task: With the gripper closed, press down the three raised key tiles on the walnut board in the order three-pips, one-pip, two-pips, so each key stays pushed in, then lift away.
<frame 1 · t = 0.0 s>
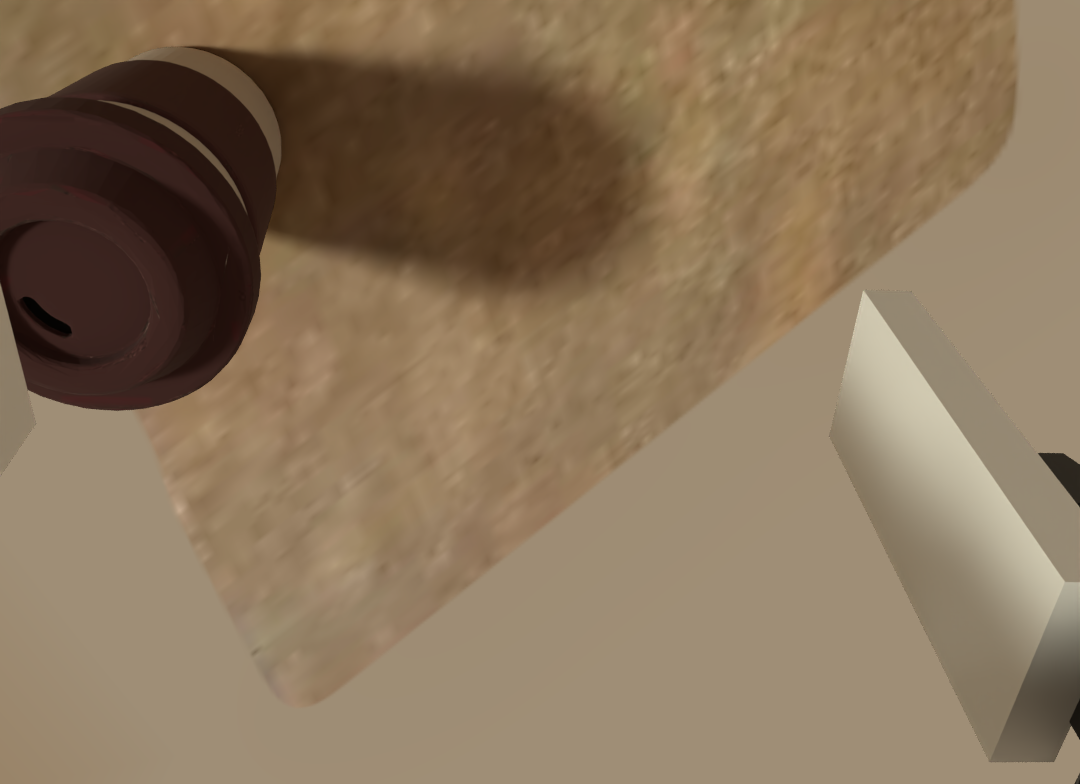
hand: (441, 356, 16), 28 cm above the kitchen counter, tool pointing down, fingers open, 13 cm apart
coffee cup: (195, 132, 42), on the kitchen counter
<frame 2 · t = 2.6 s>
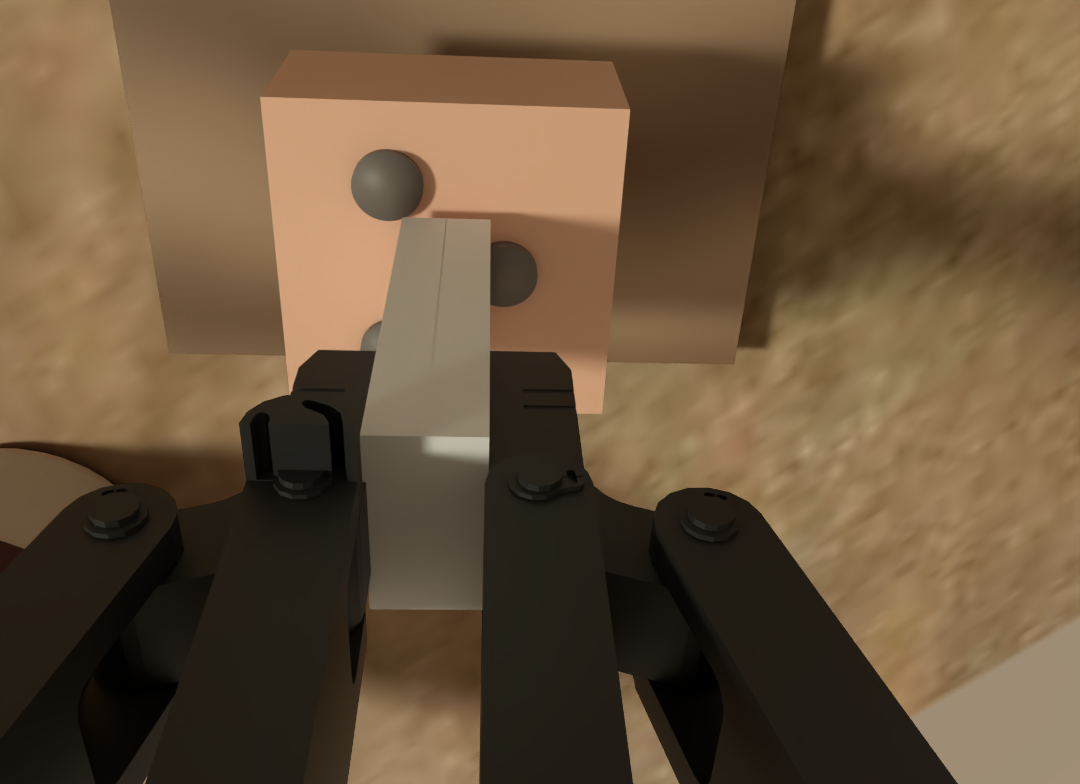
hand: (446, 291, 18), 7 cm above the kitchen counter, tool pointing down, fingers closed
tile three: (450, 238, 19), point 5 cm above the kitchen counter, slide at 0.6 cm, touching gripper
coffee cup: (39, 538, 30), on the kitchen counter
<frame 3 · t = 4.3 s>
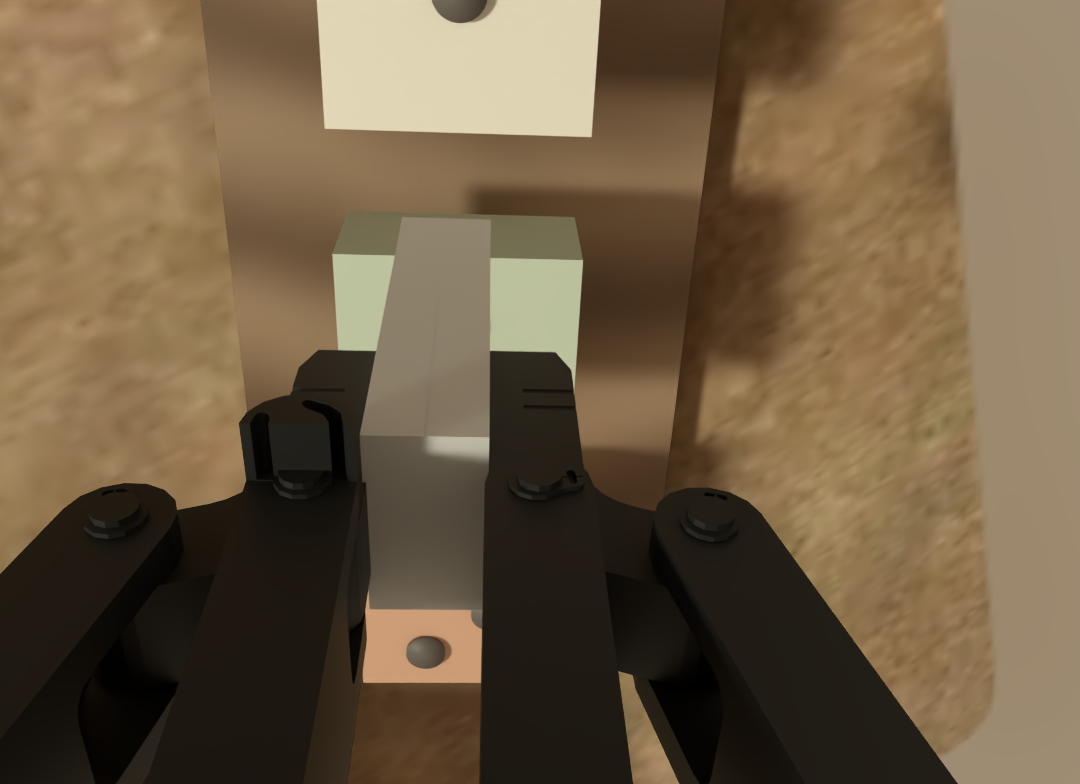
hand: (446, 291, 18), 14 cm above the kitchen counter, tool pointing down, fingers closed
tile two: (459, 342, 27), point 6 cm above the kitchen counter, slide at 0.0 cm
key board: (464, 261, 32), on the kitchen counter
tile three: (459, 581, 33), point 5 cm above the kitchen counter, slide at 1.0 cm
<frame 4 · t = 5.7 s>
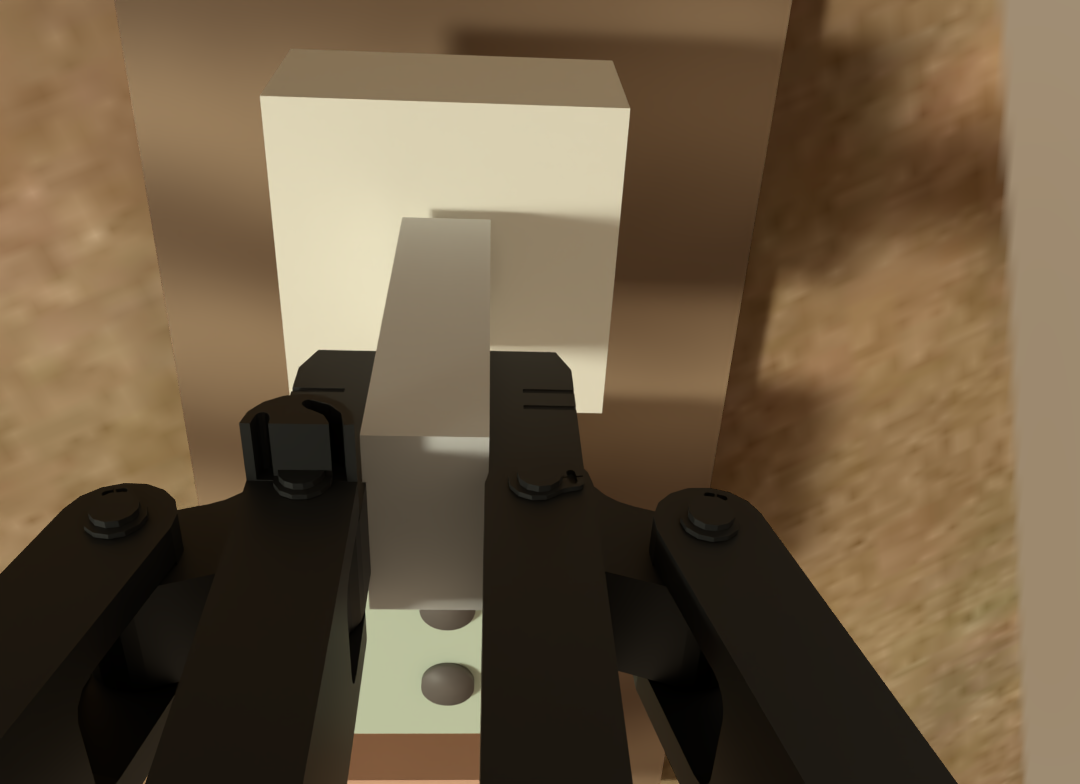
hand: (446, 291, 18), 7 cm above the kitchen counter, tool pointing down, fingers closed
tile one: (450, 237, 19), point 5 cm above the kitchen counter, slide at 0.3 cm, touching gripper
tile two: (450, 599, 24), point 6 cm above the kitchen counter, slide at 0.0 cm
key board: (457, 457, 29), on the kitchen counter
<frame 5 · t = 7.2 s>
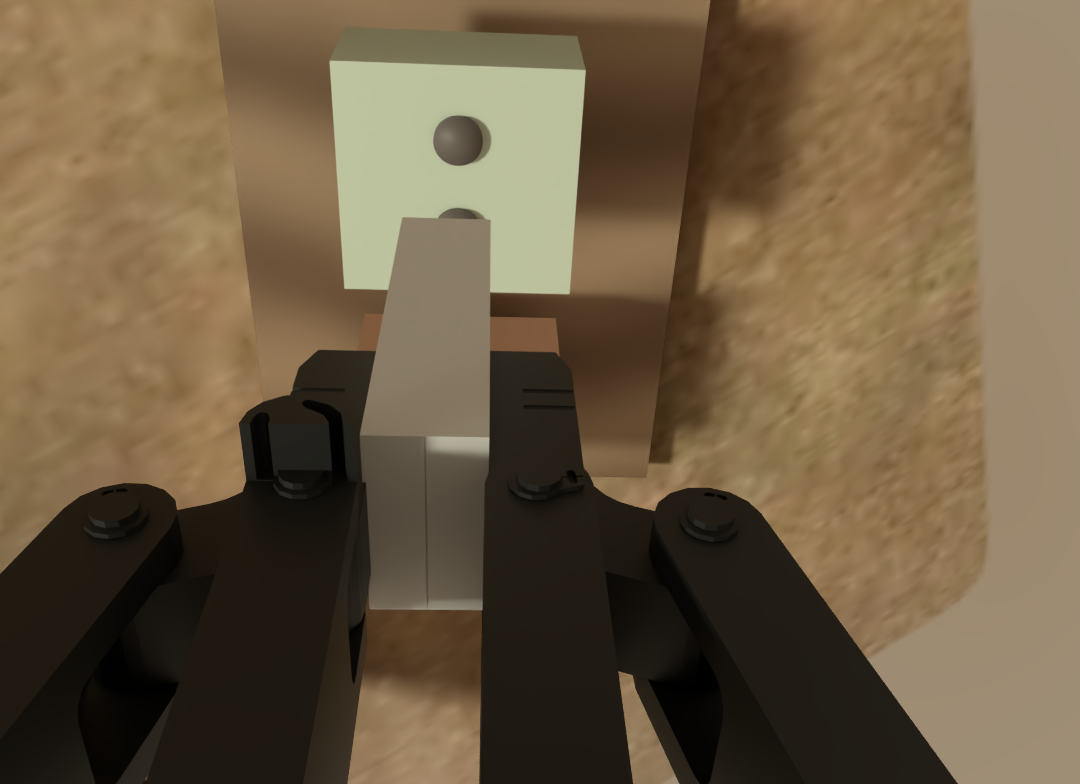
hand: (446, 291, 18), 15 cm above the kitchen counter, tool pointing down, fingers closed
tile two: (459, 164, 27), point 6 cm above the kitchen counter, slide at 0.0 cm
key board: (464, 97, 32), on the kitchen counter
tile three: (459, 422, 33), point 5 cm above the kitchen counter, slide at 1.0 cm
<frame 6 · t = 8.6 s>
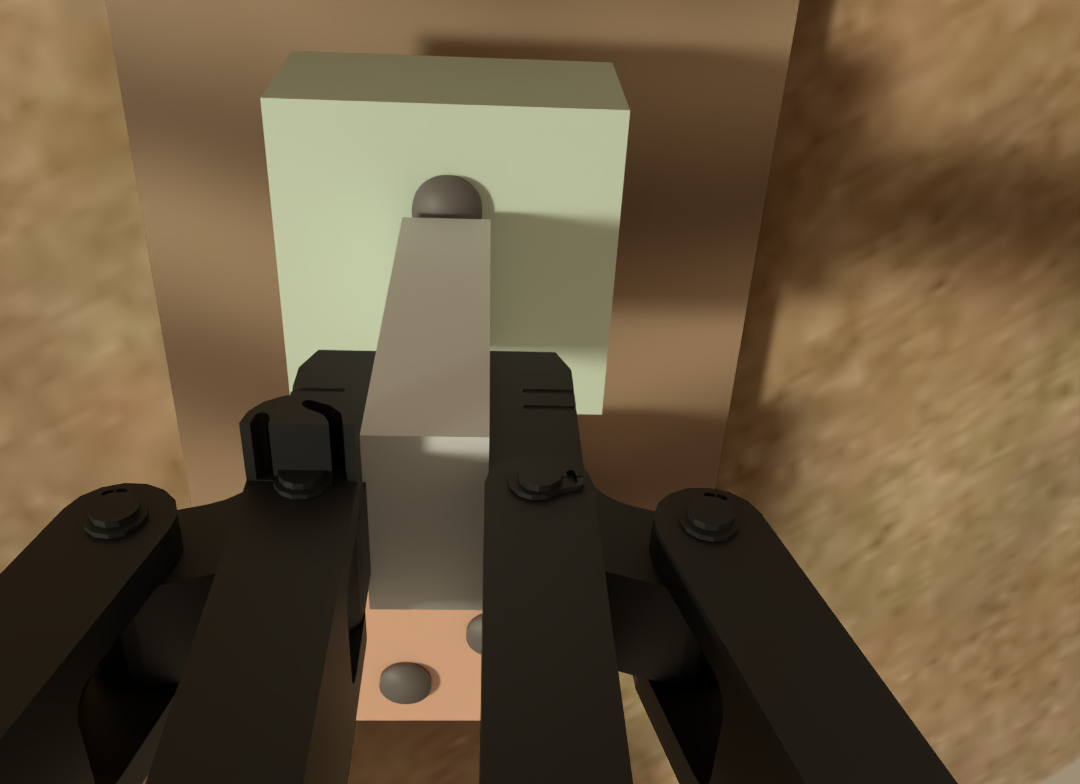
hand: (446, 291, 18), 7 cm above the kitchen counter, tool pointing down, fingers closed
tile two: (450, 239, 19), point 5 cm above the kitchen counter, slide at 0.8 cm, touching gripper
key board: (457, 154, 24), on the kitchen counter
tile three: (450, 587, 24), point 5 cm above the kitchen counter, slide at 1.0 cm
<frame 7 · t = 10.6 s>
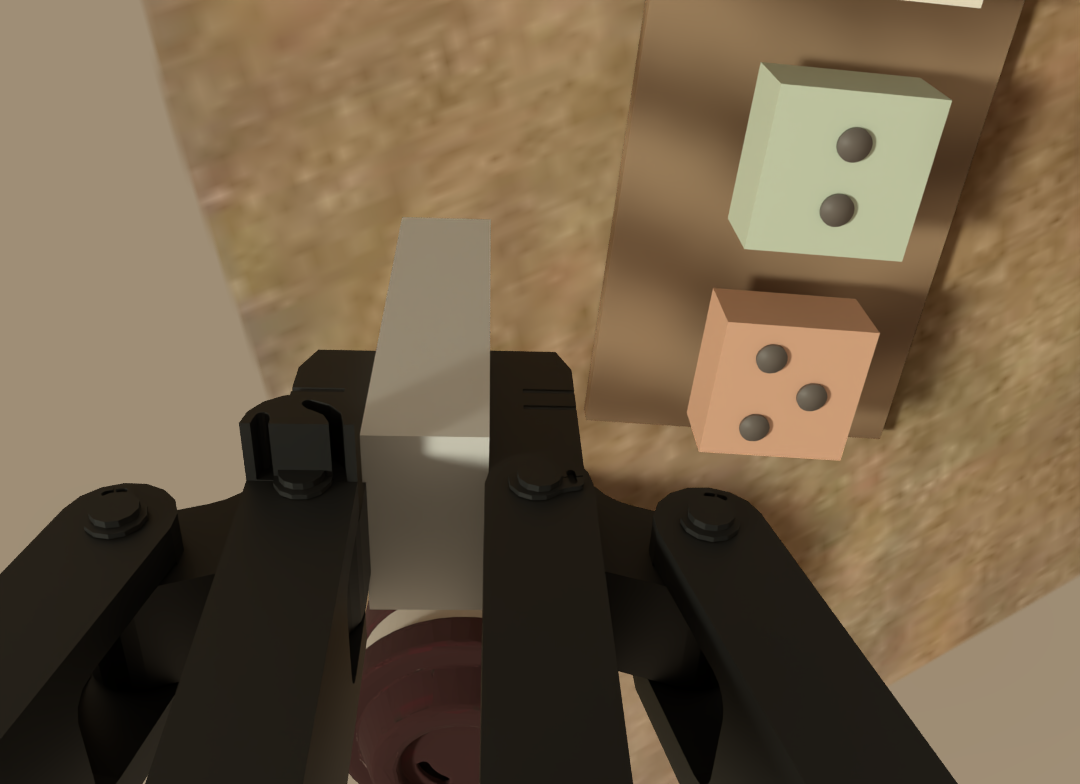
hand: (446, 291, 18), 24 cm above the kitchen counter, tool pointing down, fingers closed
tile two: (833, 164, 37), point 5 cm above the kitchen counter, slide at 1.0 cm
key board: (799, 126, 41), on the kitchen counter
tile three: (778, 376, 42), point 5 cm above the kitchen counter, slide at 1.0 cm
coffee cup: (466, 517, 51), on the kitchen counter
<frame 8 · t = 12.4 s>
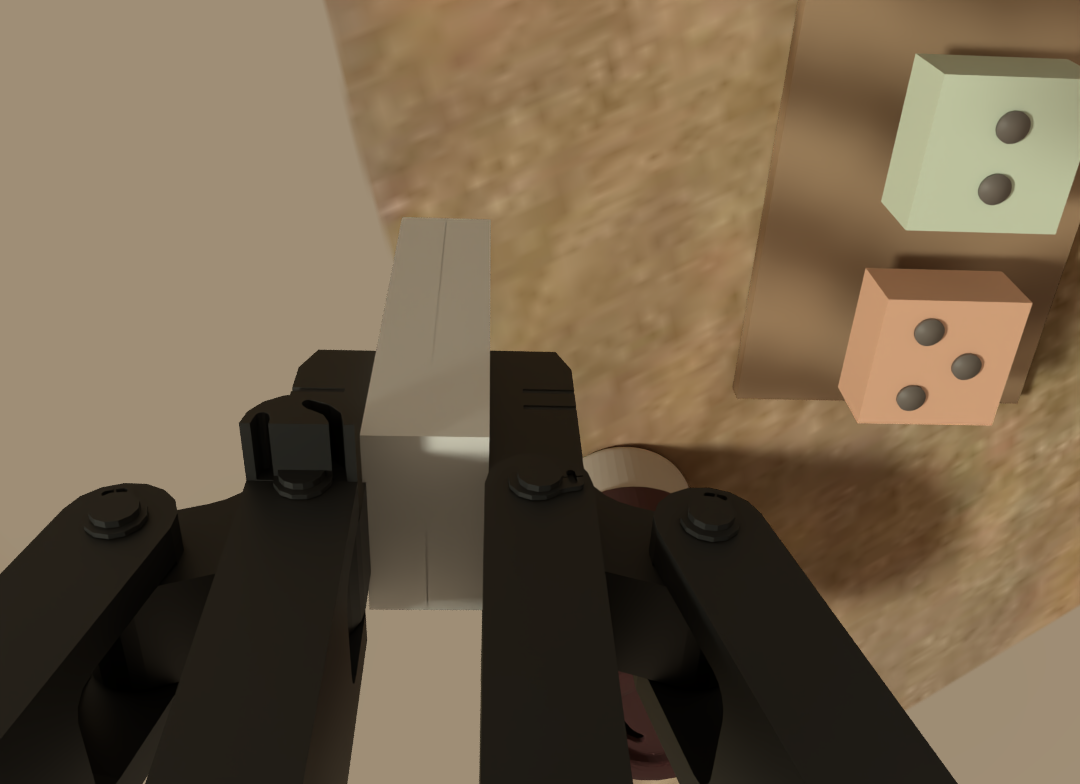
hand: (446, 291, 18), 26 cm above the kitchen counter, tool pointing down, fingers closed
tile two: (987, 145, 40), point 5 cm above the kitchen counter, slide at 1.0 cm
key board: (942, 110, 44), on the kitchen counter
tile three: (930, 348, 44), point 5 cm above the kitchen counter, slide at 1.0 cm
coffee cup: (619, 496, 54), on the kitchen counter
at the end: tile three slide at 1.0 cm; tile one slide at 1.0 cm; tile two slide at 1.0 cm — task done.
